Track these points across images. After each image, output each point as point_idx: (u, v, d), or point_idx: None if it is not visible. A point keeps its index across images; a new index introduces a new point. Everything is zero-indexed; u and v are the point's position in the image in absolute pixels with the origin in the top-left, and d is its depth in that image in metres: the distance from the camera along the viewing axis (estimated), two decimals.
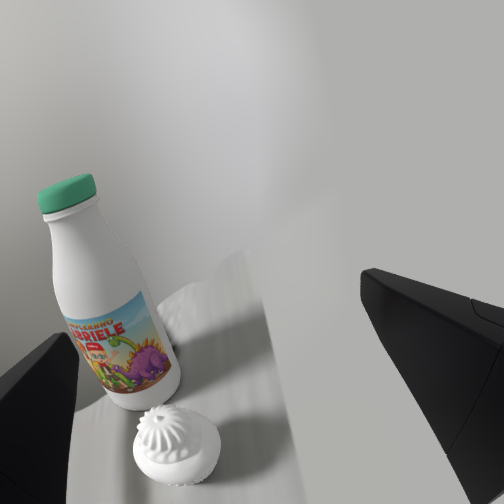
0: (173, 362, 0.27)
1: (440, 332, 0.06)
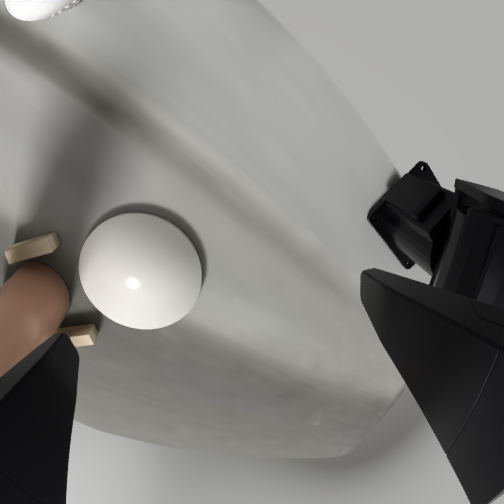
0: None
1: (440, 332, 0.06)
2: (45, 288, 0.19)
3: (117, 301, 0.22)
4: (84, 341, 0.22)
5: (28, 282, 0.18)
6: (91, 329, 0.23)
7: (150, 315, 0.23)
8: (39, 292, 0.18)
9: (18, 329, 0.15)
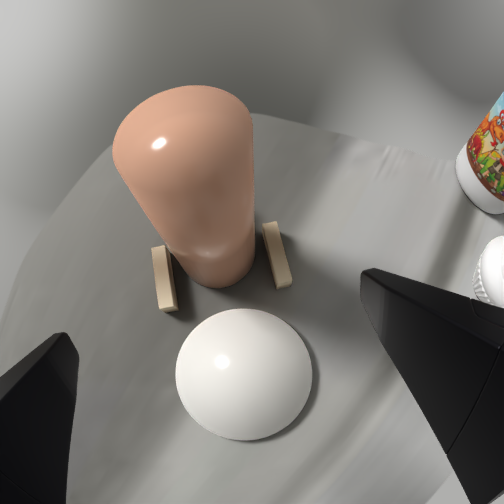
0: None
1: (440, 332, 0.06)
2: (240, 268, 0.21)
3: (212, 348, 0.21)
4: (163, 297, 0.21)
5: (251, 250, 0.21)
6: (174, 308, 0.21)
7: (194, 383, 0.20)
8: (241, 263, 0.20)
9: (233, 242, 0.16)
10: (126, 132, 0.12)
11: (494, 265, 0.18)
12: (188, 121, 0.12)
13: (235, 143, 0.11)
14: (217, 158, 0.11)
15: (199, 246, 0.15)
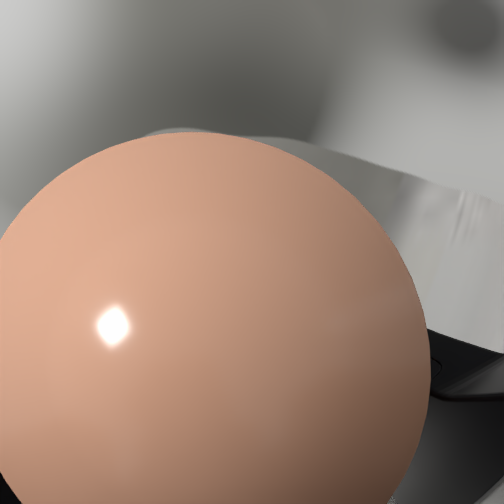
0: None
1: None
2: None
3: None
4: None
5: None
6: None
7: None
8: None
9: None
10: None
11: None
12: (178, 320, 0.03)
13: (376, 440, 0.03)
14: None
15: None
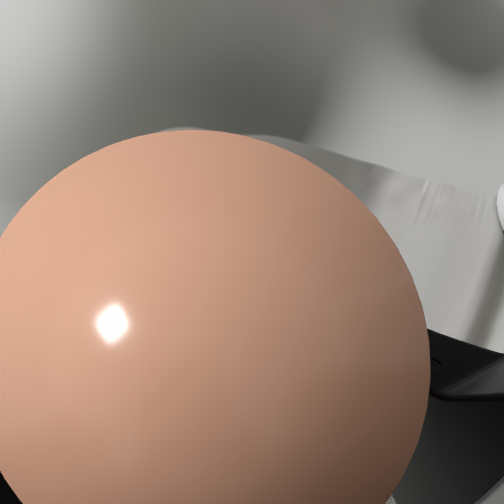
0: None
1: None
2: None
3: None
4: None
5: None
6: None
7: None
8: None
9: None
10: None
11: None
12: (178, 315, 0.03)
13: (375, 437, 0.03)
14: None
15: None
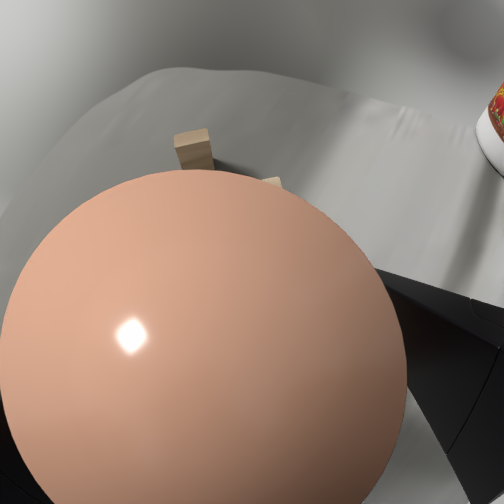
0: None
1: (440, 332, 0.06)
2: None
3: None
4: None
5: None
6: None
7: None
8: None
9: None
10: (21, 343, 0.03)
11: None
12: (194, 340, 0.04)
13: (358, 439, 0.03)
14: (305, 494, 0.03)
15: None
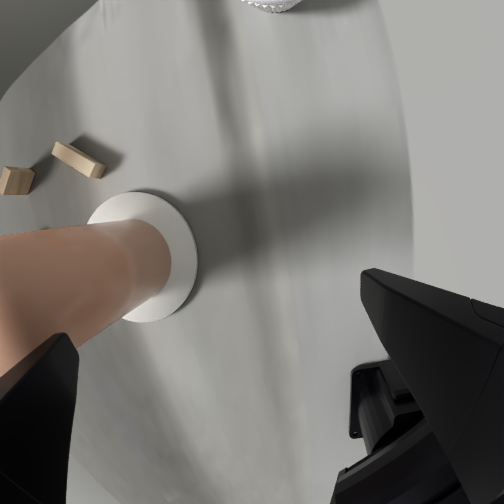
0: None
1: (440, 332, 0.06)
2: (157, 268, 0.18)
3: None
4: None
5: (148, 248, 0.18)
6: None
7: None
8: (151, 267, 0.17)
9: (117, 290, 0.14)
10: None
11: None
12: None
13: (7, 294, 0.08)
14: (13, 322, 0.08)
15: (100, 328, 0.13)
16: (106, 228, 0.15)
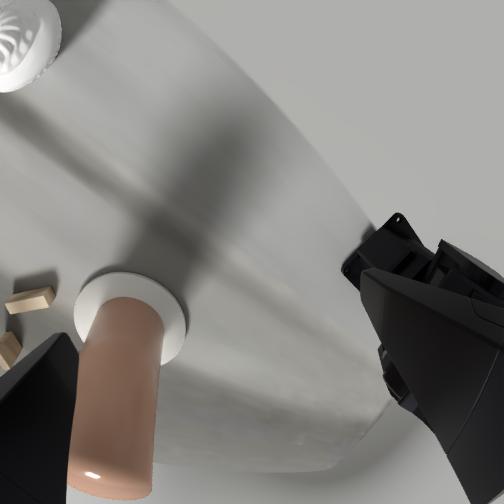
0: None
1: (440, 332, 0.06)
2: (148, 326, 0.20)
3: None
4: None
5: (131, 322, 0.19)
6: None
7: None
8: (145, 332, 0.20)
9: (141, 377, 0.16)
10: (106, 495, 0.12)
11: None
12: (86, 475, 0.11)
13: (97, 461, 0.10)
14: (115, 469, 0.11)
15: (154, 408, 0.16)
16: (96, 342, 0.17)
